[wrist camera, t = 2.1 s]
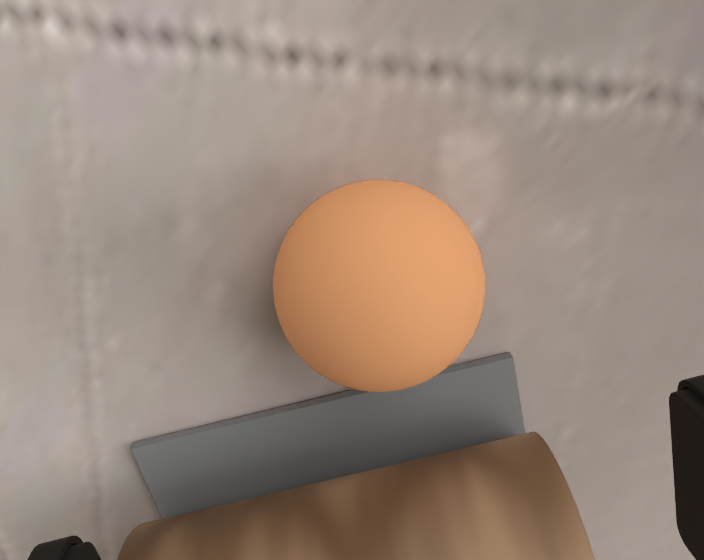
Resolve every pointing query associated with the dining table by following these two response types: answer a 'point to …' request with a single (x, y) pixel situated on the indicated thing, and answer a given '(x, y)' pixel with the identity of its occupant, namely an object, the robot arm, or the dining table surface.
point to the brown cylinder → (393, 514)
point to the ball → (379, 285)
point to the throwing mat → (330, 437)
